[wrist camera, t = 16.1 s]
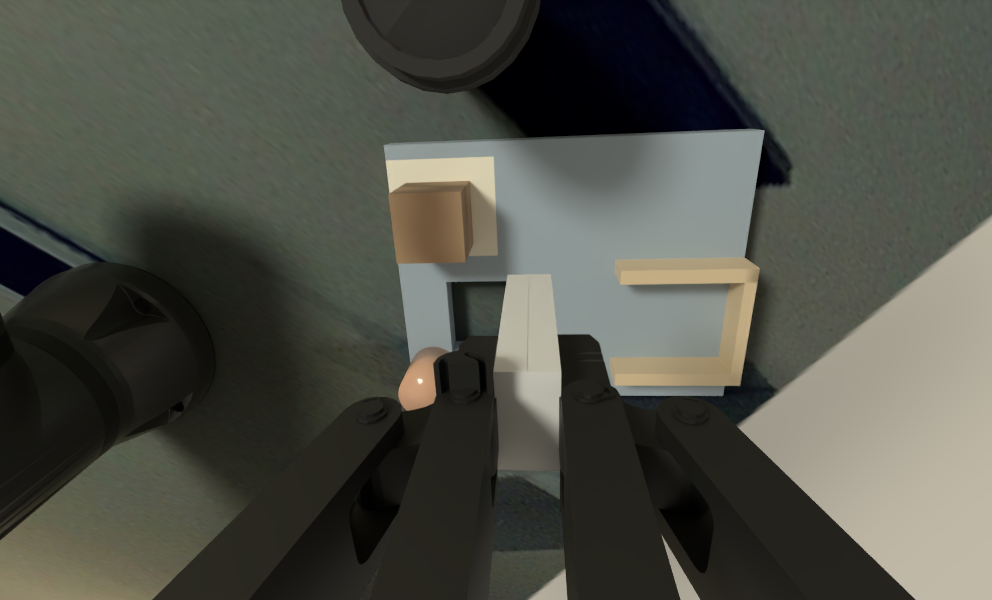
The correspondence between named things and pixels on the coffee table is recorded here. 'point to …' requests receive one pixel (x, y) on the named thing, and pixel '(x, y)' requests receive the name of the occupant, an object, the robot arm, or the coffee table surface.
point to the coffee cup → (442, 38)
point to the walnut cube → (432, 222)
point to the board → (605, 245)
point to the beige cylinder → (420, 379)
